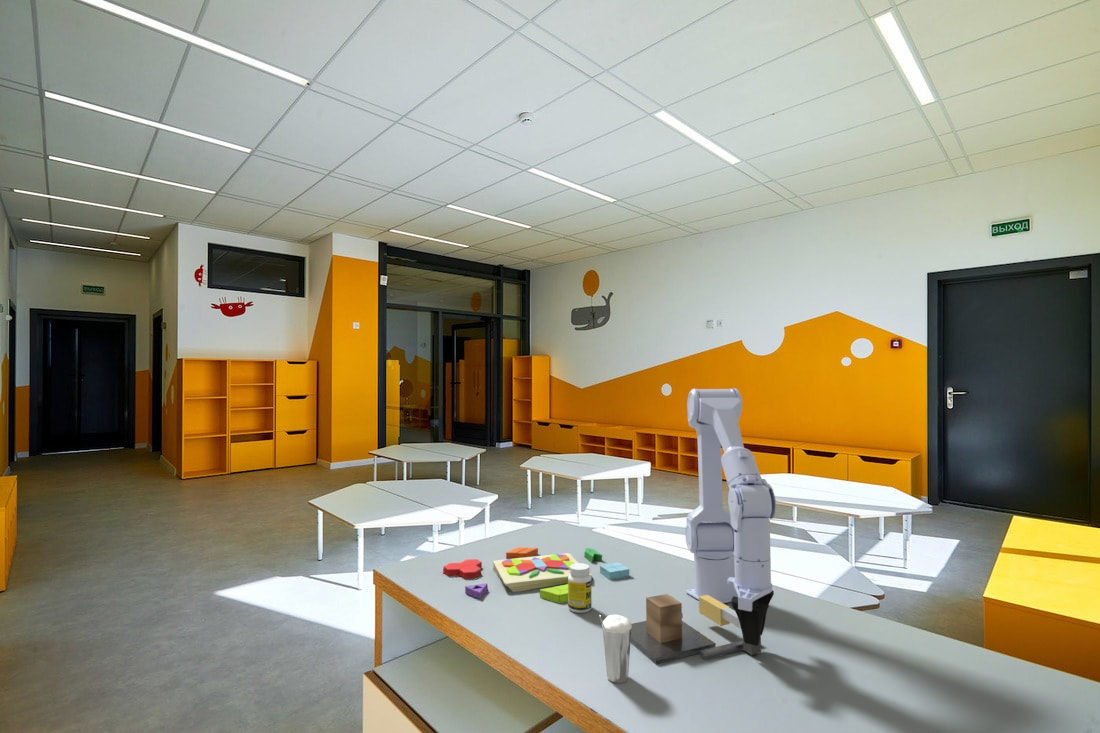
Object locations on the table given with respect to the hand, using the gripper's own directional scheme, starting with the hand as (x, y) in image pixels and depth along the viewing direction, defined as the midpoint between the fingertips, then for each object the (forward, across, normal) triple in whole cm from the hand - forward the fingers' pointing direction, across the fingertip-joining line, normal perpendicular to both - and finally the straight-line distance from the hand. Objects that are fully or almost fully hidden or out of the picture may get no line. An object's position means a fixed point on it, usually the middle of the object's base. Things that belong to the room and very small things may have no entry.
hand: (753, 638), depth 90 cm
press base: (+2, 0, -11) cm, 11 cm away
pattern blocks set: (+3, -14, -50) cm, 52 cm away
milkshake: (+3, +18, -17) cm, 25 cm away
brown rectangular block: (+1, +3, -14) cm, 15 cm away
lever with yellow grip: (+2, -3, -5) cm, 6 cm away
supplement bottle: (+3, -2, -33) cm, 34 cm away
